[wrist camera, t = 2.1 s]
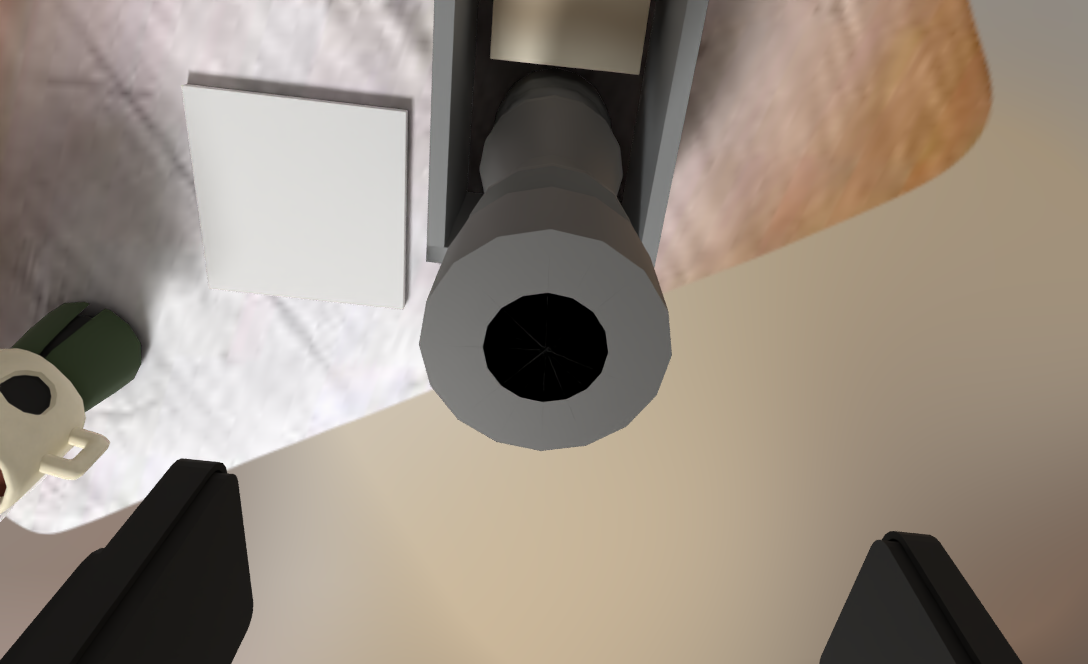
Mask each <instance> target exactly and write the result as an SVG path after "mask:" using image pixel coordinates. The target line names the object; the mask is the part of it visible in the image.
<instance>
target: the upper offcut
mask: <svg viewBox="0 0 1088 664" xmlns="http://www.w3.org/2000/svg"><path fill="white" fill-rule="evenodd" d="M650 1H651V0H493V16H492V34H491V52H490V59H498V60H507V61H516V62H526V63H535V64H544V65H553V66H562V67H572V68H581V69H590V70H599V71H609V72H618V73H627V74H636V75H639V72H640V65H641V59H642V52H643V46H644V39H645V33H646V27H647V20H648V14H649V7H650Z"/></svg>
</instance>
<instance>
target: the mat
mask: <svg viewBox="0 0 1088 664" xmlns="http://www.w3.org/2000/svg"><path fill="white" fill-rule="evenodd" d="M181 88H182V95H183V103H184V110H185V118H186V125H187V132H188V140H189V147H190V154H191V162H192V169H193V176H194V184H195V191H196V198H197V206H198V213H199V220H200V228H201V235H202V243H203V250H204V257H205V265H206V272H207V279H208V287H209V289H213V290H222V291H232V292H241V293H250V294H260V295H269V296H278V297H288V298H297V299H306V300H316V301H325V302H334V303H344V304H353V305H362V306H372V307H381V308H390V309H400V310H403V309H404V307H405V275H406V210H407V145H408V110H403V109H394V108H386V107H377V106H369V105H360V104H352V103H343V102H335V101H326V100H318V99H309V98H301V97H292V96H284V95H276V94H267V93H259V92H250V91H242V90H233V89H225V88H216V87H208V86H199V85H191V84H185V85H182V86H181Z"/></svg>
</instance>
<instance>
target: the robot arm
mask: <svg viewBox="0 0 1088 664" xmlns="http://www.w3.org/2000/svg"><path fill="white" fill-rule="evenodd" d="M252 613H253V598H252V589H251V582H250V573H249V565H248V557H247V549H246V541H245V533H244V525H243V517H242V509H241V501H240V493H239V486H238V480H237V477H236V475H234V474H227V470H226V467H225V465H224V464H223V463H220V462H212V461H202V460H192V459H179V460H177V461H176V462H175V463H174V464H173V465H172V466H171V467H170V468H169V469H168V471H167V472H166V473H165V474H164V475H163V477H162V478H161V479H160V480H159V482H158V483H157V484H156V485H155V487H154V488H153V489H152V490H151V491H150V493H149V494H148V495H147V496H146V498H145V499H144V500H143V501H142V503H141V504H140V505H139V506H138V507H137V509H136V510H135V511H134V512H133V514H132V515H131V516H130V517H129V519H128V520H127V521H126V522H125V524H124V525H123V526H122V527H121V528H120V530H119V531H118V532H117V533H116V535H115V536H114V537H113V538H112V539H111V541H110V542H109V543H108V545H107V546H106V547H105V548H101V549H98V550H96V551H94V552H92V553H91V554H90V555H89V556H88V557H87V558H86V559H85V560H84V561H83V562H82V563H81V564H80V565H79V566H78V567H77V569H76V570H75V571H74V572H73V573H72V575H71V576H70V577H69V578H68V579H67V581H66V582H65V583H64V584H63V586H62V587H61V588H60V589H59V590H58V592H57V593H56V594H55V595H54V596H53V597H52V599H51V600H50V601H49V602H48V603H47V605H46V606H45V607H44V608H43V609H42V611H41V612H40V613H39V614H38V615H37V617H36V618H35V619H34V620H33V622H32V623H31V624H30V625H29V626H28V628H27V629H26V630H25V631H24V632H23V634H22V635H21V636H20V637H19V639H17V641H16V642H15V643H14V644H13V645H12V647H11V648H10V649H9V650H8V652H7V653H6V654H5V655H4V656H3V658H2V659H1V660H0V664H231V663H232V661H233V659H234V657H235V655H236V652H237V650H238V648H239V646H240V644H241V642H242V640H243V638H244V636H245V634H246V632H247V630H248V627H249V624H250V621H251V618H252ZM820 664H1022V662H1021V661H1020V659H1019V658H1018V656H1017V655H1016V653H1015V652H1014V650H1013V649H1012V647H1011V646H1010V645H1009V643H1008V642H1007V640H1006V639H1005V637H1004V636H1003V634H1002V633H1001V631H1000V630H999V628H998V627H997V625H996V624H995V623H994V621H993V620H992V618H991V617H990V615H989V614H988V612H987V611H986V610H985V608H984V606H983V605H982V604H981V602H980V600H979V599H978V598H977V596H976V595H975V593H974V592H973V590H972V589H971V587H970V586H969V584H968V583H967V581H966V580H965V579H964V577H963V576H962V574H961V573H960V571H959V570H958V568H957V567H956V565H955V564H954V562H953V561H952V559H951V558H950V556H949V555H948V554H947V552H946V551H945V549H944V548H943V546H942V545H941V543H940V542H939V541H938V540H937V539H936V538H935V537H933V536H931V535H925V534H916V533H907V532H897V531H890V532H888V533H887V534H885V536H884V537H883V539H882V540H876V541H875V542H874V543H873V544H872V546H871V548H870V550H869V552H868V554H867V556H866V559H865V561H864V563H863V565H862V567H861V570H860V572H859V574H858V576H857V579H856V581H855V583H854V585H853V587H852V589H851V592H850V594H849V596H848V599H847V600H846V603H845V605H844V607H843V609H842V612H841V614H840V616H839V618H838V620H837V622H836V625H835V627H834V629H833V631H832V633H831V636H830V638H829V640H828V642H827V645H826V647H825V649H824V651H823V653H822V655H821V659H820Z"/></svg>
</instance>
